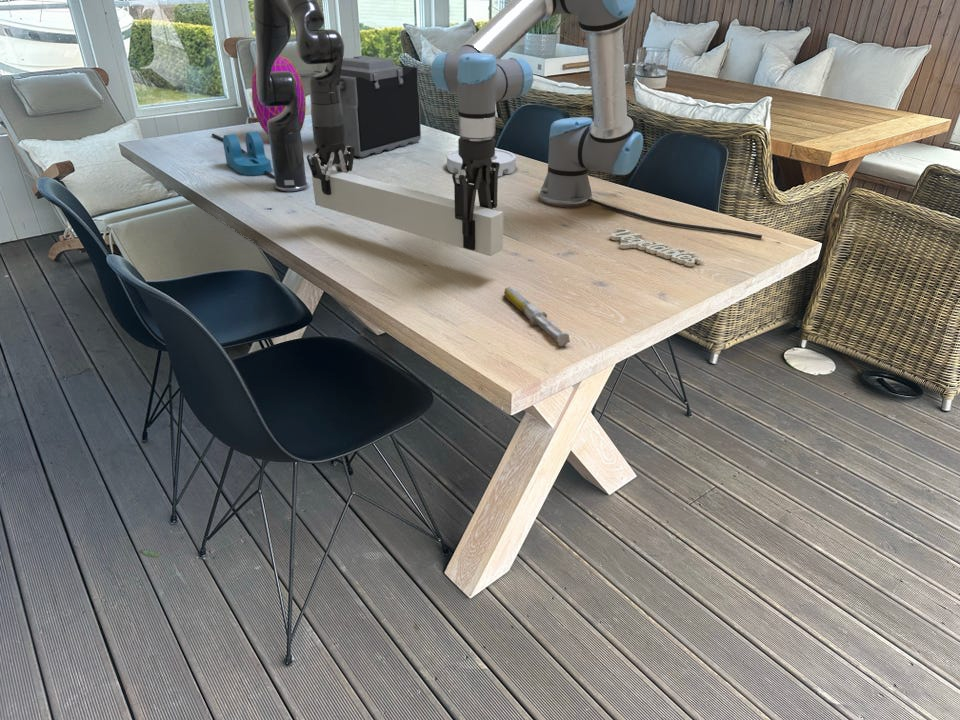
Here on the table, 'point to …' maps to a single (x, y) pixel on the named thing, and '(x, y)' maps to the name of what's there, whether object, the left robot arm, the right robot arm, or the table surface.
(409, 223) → the bar
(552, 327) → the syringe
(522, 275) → the table surface
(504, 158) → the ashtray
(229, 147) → the camera mount
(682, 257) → the decorative sign
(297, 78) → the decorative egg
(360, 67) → the electronic device
